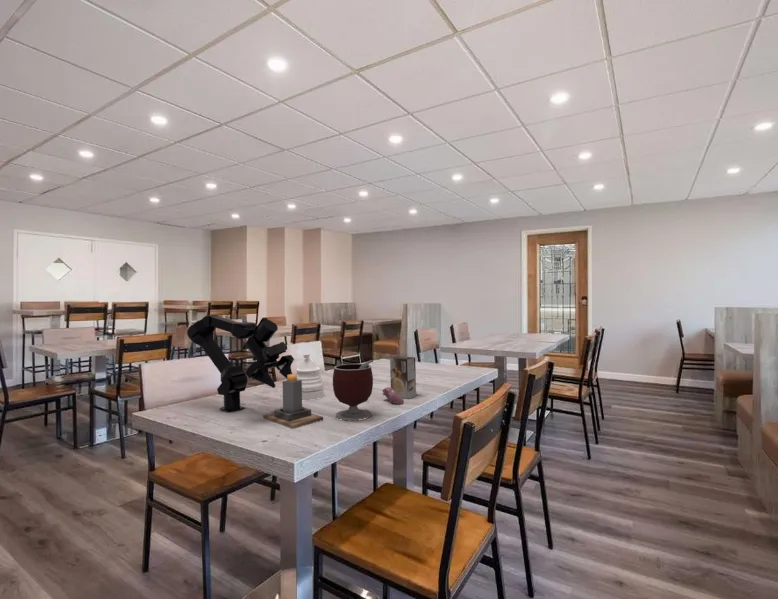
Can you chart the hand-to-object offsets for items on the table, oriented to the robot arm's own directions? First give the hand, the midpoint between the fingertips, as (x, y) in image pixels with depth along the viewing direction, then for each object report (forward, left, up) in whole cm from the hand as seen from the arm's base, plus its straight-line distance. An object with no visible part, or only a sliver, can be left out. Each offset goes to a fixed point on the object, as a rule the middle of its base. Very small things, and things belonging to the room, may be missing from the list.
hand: (284, 384), depth 141 cm
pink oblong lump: (+14, +39, -12) cm, 43 cm away
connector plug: (+3, +1, -10) cm, 11 cm away
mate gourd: (+17, +17, -12) cm, 27 cm away
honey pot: (-19, +23, -12) cm, 32 cm away
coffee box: (+11, +49, -12) cm, 52 cm away
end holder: (+3, +1, -11) cm, 12 cm away
